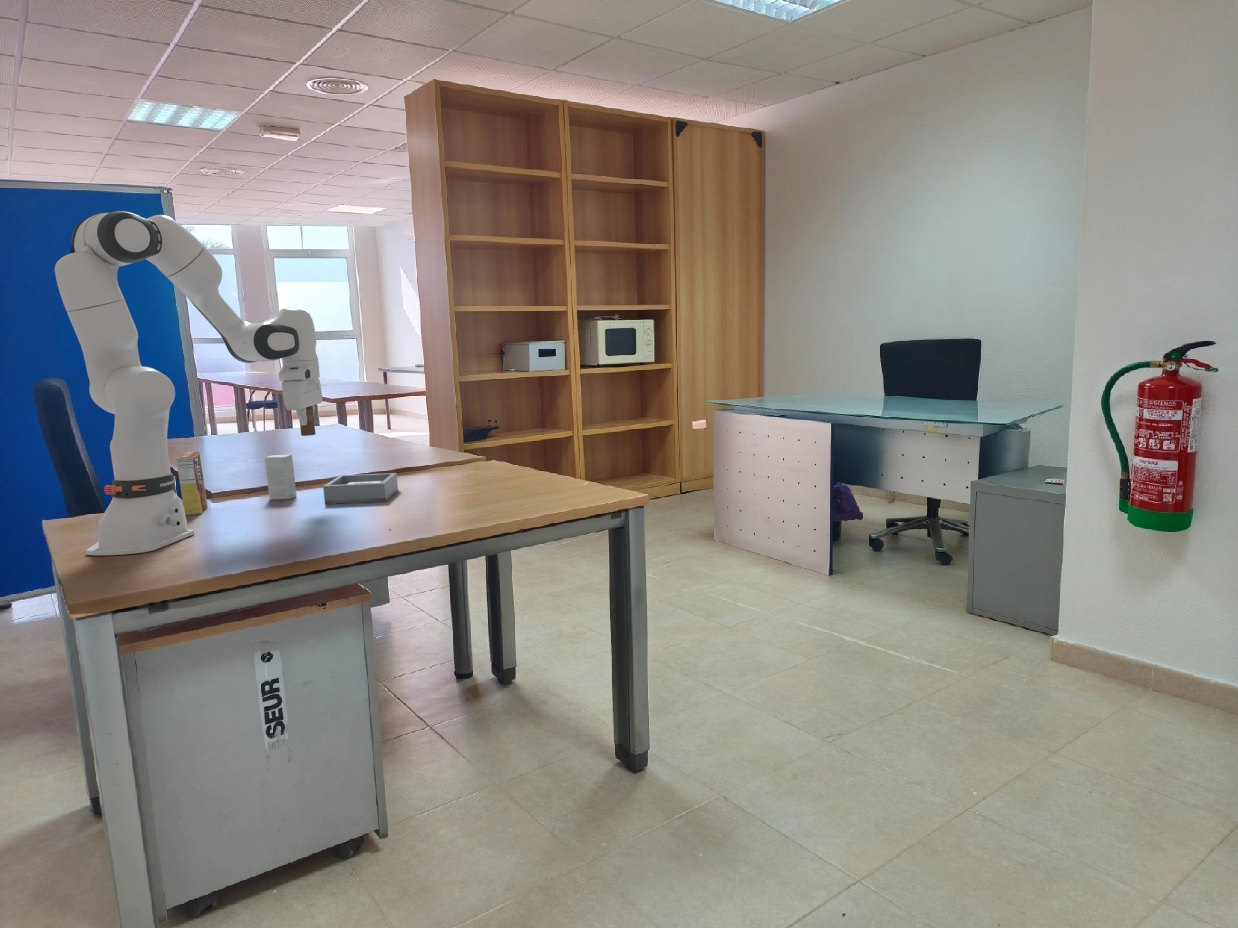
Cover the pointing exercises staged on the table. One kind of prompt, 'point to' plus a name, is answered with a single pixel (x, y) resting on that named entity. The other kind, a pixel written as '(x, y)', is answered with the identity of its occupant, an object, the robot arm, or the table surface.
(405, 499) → the table surface
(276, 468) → the skincare box
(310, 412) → the peg
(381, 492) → the tray
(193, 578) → the table surface
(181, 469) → the candy box
